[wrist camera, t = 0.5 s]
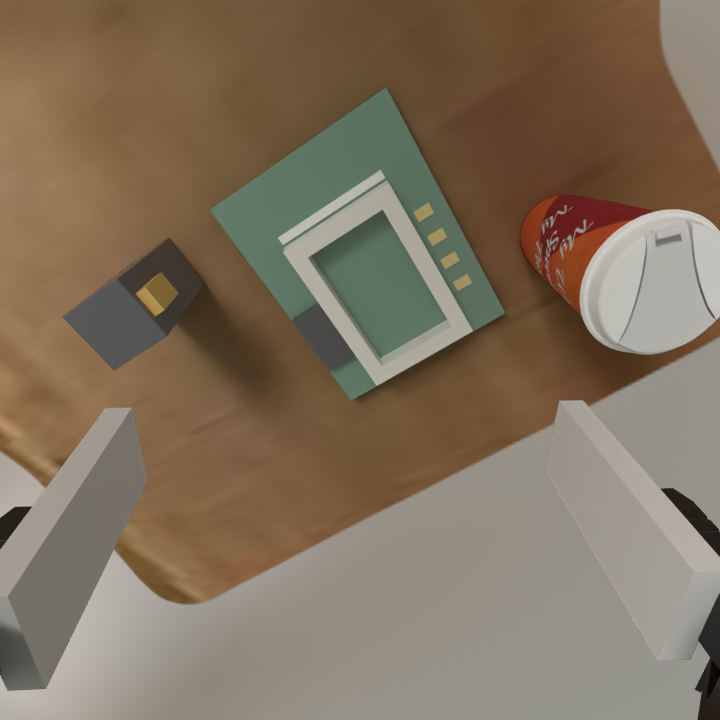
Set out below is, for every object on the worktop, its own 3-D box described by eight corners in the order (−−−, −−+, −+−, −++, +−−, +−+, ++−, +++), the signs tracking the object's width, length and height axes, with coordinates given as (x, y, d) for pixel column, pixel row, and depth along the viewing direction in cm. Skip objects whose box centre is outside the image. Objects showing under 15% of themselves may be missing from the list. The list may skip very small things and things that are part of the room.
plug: (126, 267, 37) (62, 316, 28) (176, 232, 37) (126, 272, 28) (163, 310, 39) (113, 370, 30) (212, 278, 38) (176, 329, 29)
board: (213, 206, 36) (204, 214, 33) (384, 88, 33) (388, 86, 31) (350, 393, 43) (351, 410, 41) (500, 307, 40) (511, 320, 38)
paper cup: (499, 194, 37) (587, 237, 24) (606, 166, 36) (754, 195, 24) (511, 295, 40) (594, 380, 27) (609, 271, 39) (739, 345, 27)
